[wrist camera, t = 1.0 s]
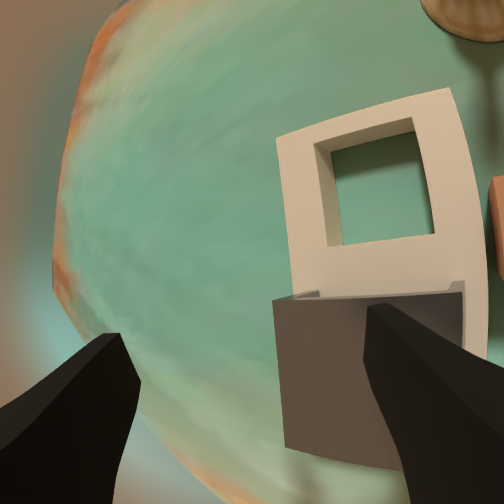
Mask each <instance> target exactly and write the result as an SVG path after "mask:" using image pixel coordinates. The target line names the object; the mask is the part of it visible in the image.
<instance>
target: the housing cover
mask: <svg viewBox="0 0 504 504" xmlns="http://www.w3.org/2000/svg"><path fill="white" fill-rule="evenodd" d="M386 302H387V303H389V304H391V305H392V306H394V307H396V308H397V309H399V310H401V311H402V312H404V313H405V314H407V315H409V316H410V317H412V318H413V319H415V320H416V321H418V322H419V323H421V324H423V325H424V326H426V327H427V328H429V329H431V330H432V331H434V332H435V333H437V334H439V335H440V336H442V337H444V338H445V339H447V340H449V341H450V342H452V343H454V344H456V345H457V346H459V347H461V348H463V349H465V333H466V298H465V280H461V281H452V283H451V285H450V287H449V289H448V290H441V291H428V292H414V293H398V294H381V295H361V296H338V297H320V294H319V290H312V291H306V292H302V293H298V294H295V295H291V296H287V297H283V298H280V299H276V300H272V304H273V315H274V325H275V336H276V347H277V358H278V369H279V380H280V392H281V403H282V415H283V428H284V440H285V447H286V448H290V449H293V450H297V451H301V452H305V453H309V454H313V455H317V456H321V457H325V458H330V459H334V460H339V461H344V462H349V463H355V464H360V465H366V466H372V467H379V468H386V469H393V470H402V471H403V467H402V463H401V459H400V456H399V454H398V451H397V448H396V445H395V443H394V441H393V438H392V436H391V434H390V431H389V429H388V426H387V424H386V422H385V420H384V417H383V415H382V413H381V410H380V408H379V406H378V403H377V401H376V399H375V396H374V394H373V392H372V389H371V386H370V383H369V380H368V377H367V373H366V370H365V366H364V363H363V354H364V343H365V330H366V315H367V306H369V305H375V304H381V303H386Z"/></svg>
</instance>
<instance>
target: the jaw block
mask: <svg viewBox="0 0 504 504" xmlns="http://www.w3.org/2000/svg"><path fill="white" fill-rule="evenodd" d="M488 196H489V202H490V208H491V215H492V222H493V230H494V238H495V249H496V261H497V272H498V273H499V275H500V276H501V277H502V279H503V280H504V175H502V176H495V177H492V180H491V184H490V187H489V191H488Z"/></svg>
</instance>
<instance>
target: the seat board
mask: <svg viewBox="0 0 504 504" xmlns="http://www.w3.org/2000/svg"><path fill="white" fill-rule="evenodd" d="M412 131H416V135H417V138H418V143H419V147H420V151H421V155H422V160H423V164H424V169H425V174H426V179H427V184H428V190H429V196H430V202H431V208H432V215H433V222H434V229H435V234H428V235H420V236H412V237H404V238H397V239H389V240H381V241H373V242H365V243H357V244H349V245H343V236H342V227H341V219H340V212H339V204H338V197H337V190H336V184H335V177H334V171H333V165H332V159H331V153H330V152H333V151H336V150H340V149H344V148H347V147H351V146H355V145H359V144H363V143H366V142H370V141H374V140H378V139H382V138H387V137H391V136H395V135H399V134H403V133H408V132H412ZM276 144H277V152H278V159H279V167H280V175H281V183H282V191H283V199H284V208H285V216H286V225H287V234H288V243H289V253H290V263H291V273H292V283H293V293H294V295H295V294H298V293H302V292H306V291H312V290H319V294H320V297H338V296H361V295H381V294H398V293H414V292H428V291H441V290H448V289H449V287H450V285H451V283H452V281H461V280H465V298H466V333H465V350H467V351H468V352H470V353H472V354H474V355H476V356H478V357H480V358H482V359H484V360H486V355H487V340H488V274H487V259H486V247H485V237H484V229H483V221H482V214H481V207H480V201H479V195H478V190H477V185H476V180H475V175H474V170H473V166H472V161H471V157H470V153H469V149H468V145H467V142H466V138H465V134H464V131H463V127H462V124H461V121H460V117H459V114H458V111H457V108H456V105H455V102H454V99H453V96H452V93H451V91H450V88H449V87H448V88H443V89H439V90H434V91H430V92H426V93H421V94H417V95H413V96H409V97H405V98H401V99H397V100H394V101H390V102H386V103H382V104H379V105H375V106H372V107H368V108H365V109H361V110H358V111H355V112H351V113H348V114H345V115H342V116H339V117H335V118H332V119H329V120H326V121H323V122H320V123H317V124H314V125H311V126H308V127H305V128H302V129H300V130H297V131H294V132H291V133H288V134H286V135H283V136H280V137H277V138H276Z"/></svg>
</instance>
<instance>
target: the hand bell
mask: <svg viewBox="0 0 504 504" xmlns="http://www.w3.org/2000/svg"><path fill="white" fill-rule="evenodd" d="M420 1H421V4H422V6H423V8H424V10H425V11H426V13H427V14H428V15H429V17H430V18H431V19H432V20H433V21H435V22H436V23H437V24H439V25H440V26H441V27H442V28H444V29H446V30H447V31H449V32H451V33H453V34H456V35H458V36H460V37H463V38H466V39H470V40H475V41H482V42H496V41H502V40H504V0H420Z"/></svg>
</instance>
